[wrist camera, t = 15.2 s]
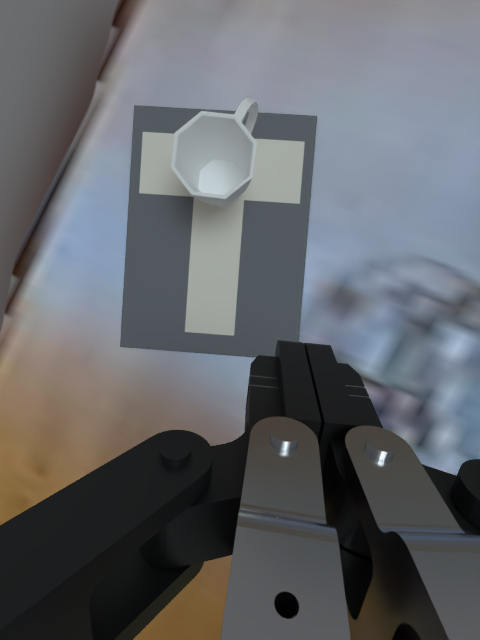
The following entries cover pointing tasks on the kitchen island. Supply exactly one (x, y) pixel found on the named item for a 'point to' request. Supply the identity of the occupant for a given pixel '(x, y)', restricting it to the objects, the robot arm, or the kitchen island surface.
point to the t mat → (216, 243)
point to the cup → (216, 154)
